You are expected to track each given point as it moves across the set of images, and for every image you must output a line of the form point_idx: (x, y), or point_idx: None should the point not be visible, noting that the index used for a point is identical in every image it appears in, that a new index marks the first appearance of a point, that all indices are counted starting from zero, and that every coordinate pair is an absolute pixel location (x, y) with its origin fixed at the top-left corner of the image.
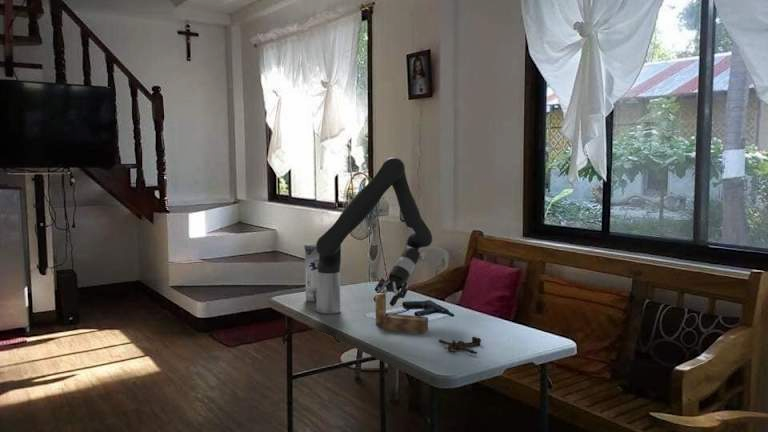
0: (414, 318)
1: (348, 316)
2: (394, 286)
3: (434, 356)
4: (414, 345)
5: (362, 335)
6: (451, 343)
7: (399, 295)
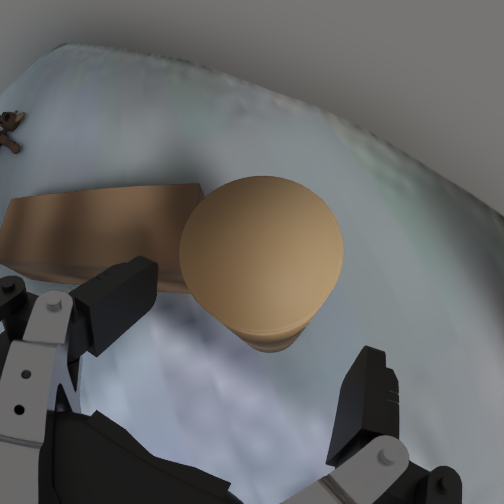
0: (36, 214)
1: (494, 388)
2: (22, 405)
3: (52, 86)
4: (81, 113)
5: (277, 119)
6: (5, 113)
7: (29, 296)
